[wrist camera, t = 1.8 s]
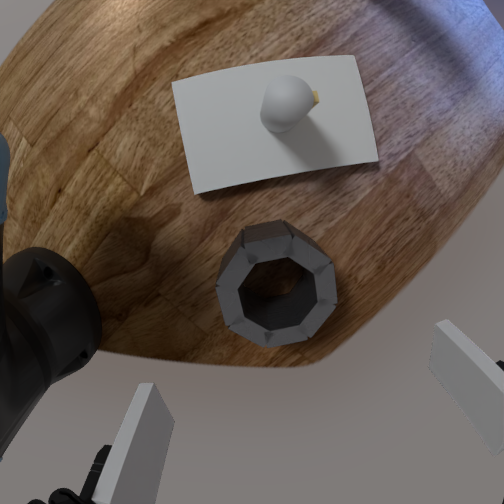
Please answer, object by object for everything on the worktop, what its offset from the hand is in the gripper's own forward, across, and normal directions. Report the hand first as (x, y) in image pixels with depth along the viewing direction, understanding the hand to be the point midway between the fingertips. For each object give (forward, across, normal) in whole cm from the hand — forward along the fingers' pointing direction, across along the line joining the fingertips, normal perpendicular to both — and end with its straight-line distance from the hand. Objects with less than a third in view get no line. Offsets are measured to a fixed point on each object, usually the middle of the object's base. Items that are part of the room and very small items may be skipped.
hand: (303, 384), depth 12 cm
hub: (+16, 0, 0) cm, 16 cm away
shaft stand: (+15, +3, +13) cm, 20 cm away
